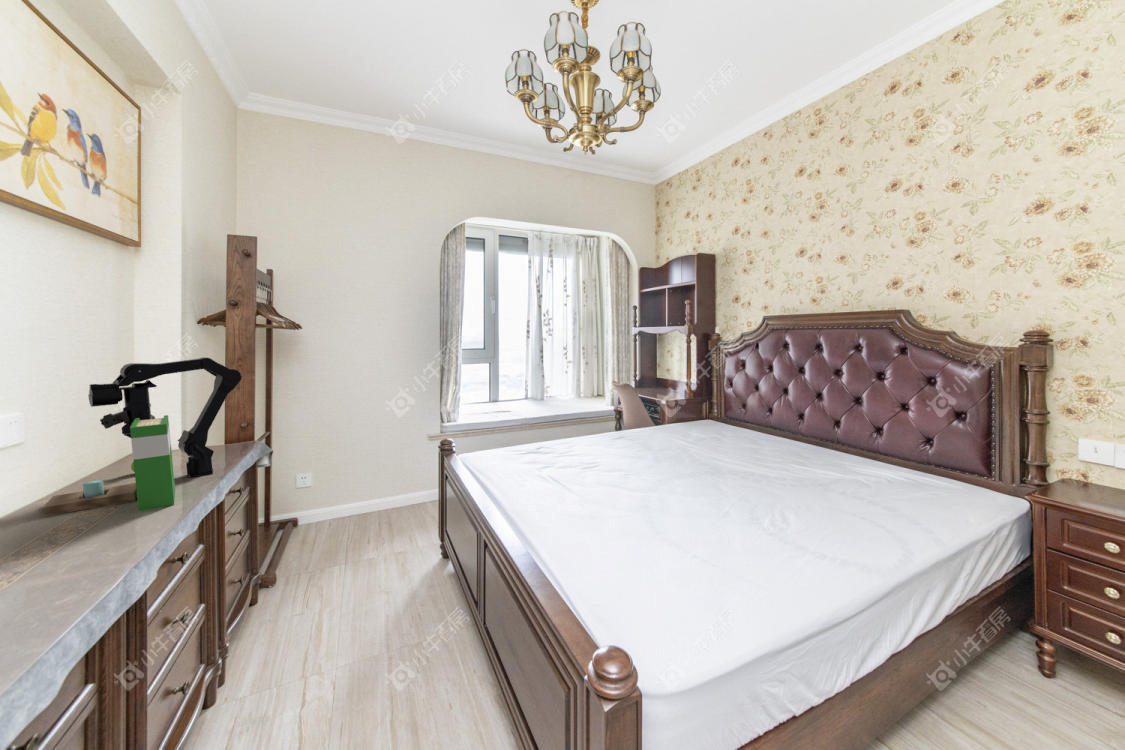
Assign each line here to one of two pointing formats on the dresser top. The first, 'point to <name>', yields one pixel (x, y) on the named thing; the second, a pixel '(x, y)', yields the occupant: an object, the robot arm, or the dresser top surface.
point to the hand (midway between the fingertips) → (142, 449)
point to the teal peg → (93, 488)
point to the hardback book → (153, 463)
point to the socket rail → (89, 499)
